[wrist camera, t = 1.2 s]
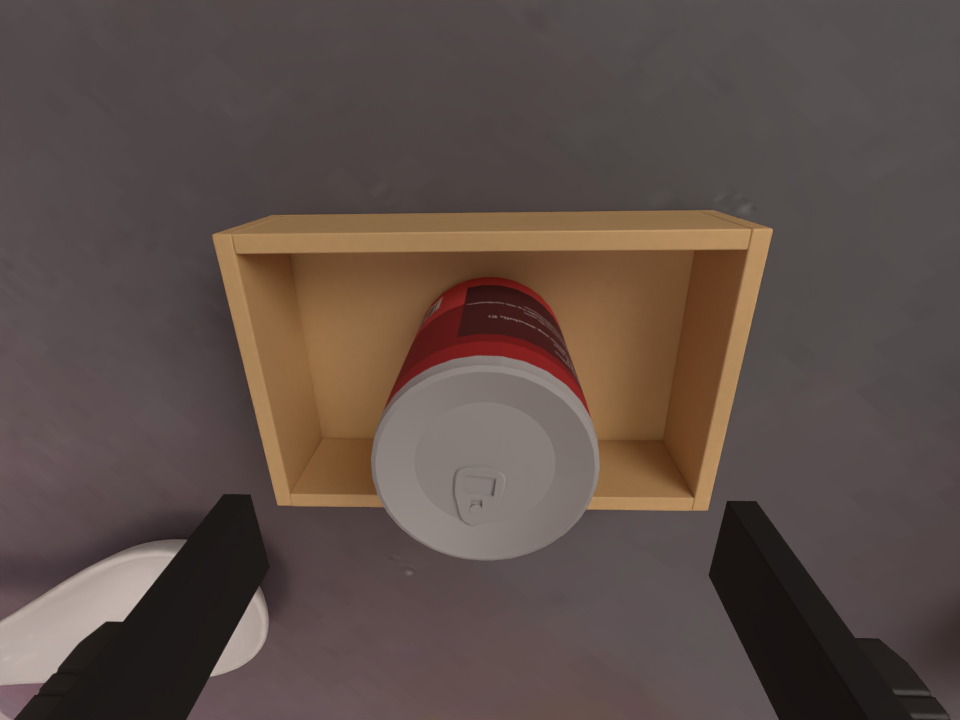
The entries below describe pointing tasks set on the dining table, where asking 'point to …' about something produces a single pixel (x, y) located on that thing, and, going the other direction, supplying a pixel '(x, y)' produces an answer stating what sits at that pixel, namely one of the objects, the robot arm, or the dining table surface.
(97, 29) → the dining table surface
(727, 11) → the dining table surface
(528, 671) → the dining table surface
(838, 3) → the dining table surface
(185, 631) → the robot arm
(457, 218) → the open wooden box
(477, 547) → the canned food
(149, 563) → the spoon rest
